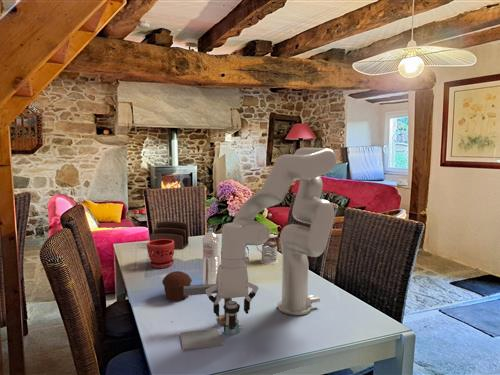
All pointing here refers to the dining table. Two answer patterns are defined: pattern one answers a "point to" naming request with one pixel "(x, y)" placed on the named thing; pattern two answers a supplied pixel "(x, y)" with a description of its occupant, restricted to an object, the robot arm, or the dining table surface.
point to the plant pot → (161, 252)
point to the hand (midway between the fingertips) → (231, 313)
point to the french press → (268, 257)
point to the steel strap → (197, 289)
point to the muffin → (176, 285)
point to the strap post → (223, 317)
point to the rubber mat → (200, 339)
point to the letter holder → (172, 233)
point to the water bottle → (210, 257)
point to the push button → (231, 318)
